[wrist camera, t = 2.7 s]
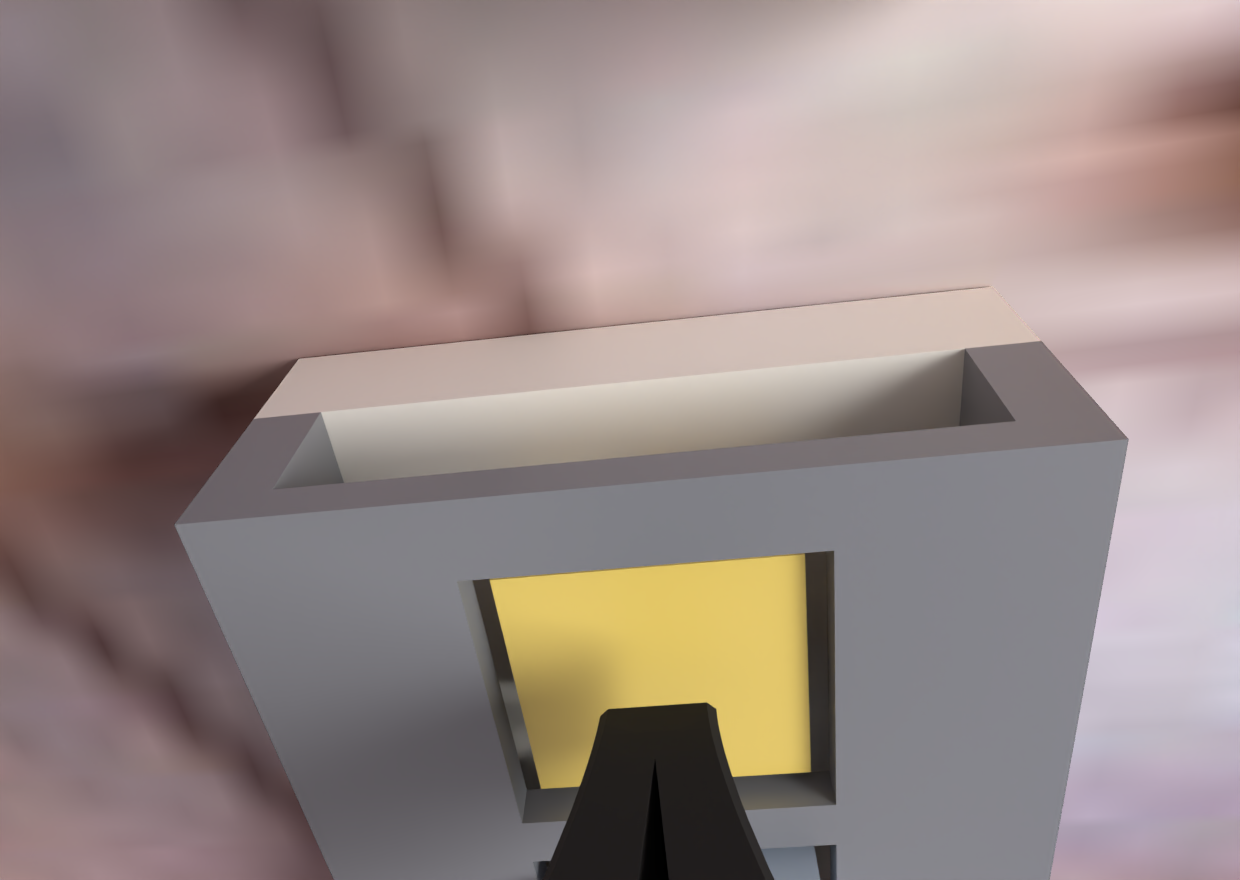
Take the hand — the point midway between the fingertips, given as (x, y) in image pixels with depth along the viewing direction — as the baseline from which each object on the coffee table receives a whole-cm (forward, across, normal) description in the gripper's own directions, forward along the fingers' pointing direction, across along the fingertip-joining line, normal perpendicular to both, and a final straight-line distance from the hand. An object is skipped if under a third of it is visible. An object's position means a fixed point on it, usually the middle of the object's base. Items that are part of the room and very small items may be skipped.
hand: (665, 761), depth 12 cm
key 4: (+3, 0, 0) cm, 3 cm away
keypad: (+6, 0, +8) cm, 10 cm away
